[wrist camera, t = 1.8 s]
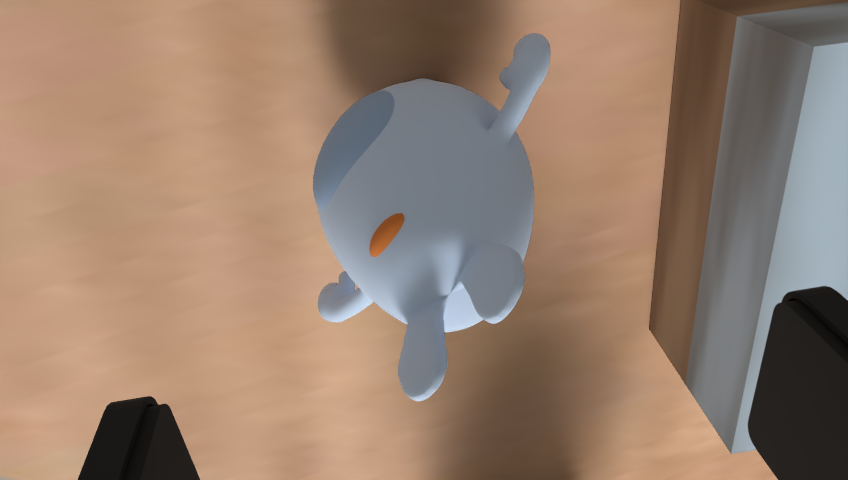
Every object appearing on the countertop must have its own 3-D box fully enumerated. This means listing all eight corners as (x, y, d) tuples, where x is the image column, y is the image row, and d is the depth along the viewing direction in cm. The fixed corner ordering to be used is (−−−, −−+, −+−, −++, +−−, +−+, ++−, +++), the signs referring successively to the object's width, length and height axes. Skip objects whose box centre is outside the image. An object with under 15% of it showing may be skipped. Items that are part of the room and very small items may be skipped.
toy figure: (429, -60, 20) (526, 27, 10) (574, 60, 22) (775, 233, 12) (250, 199, 24) (181, 464, 13) (391, 278, 26) (424, 556, 16)
